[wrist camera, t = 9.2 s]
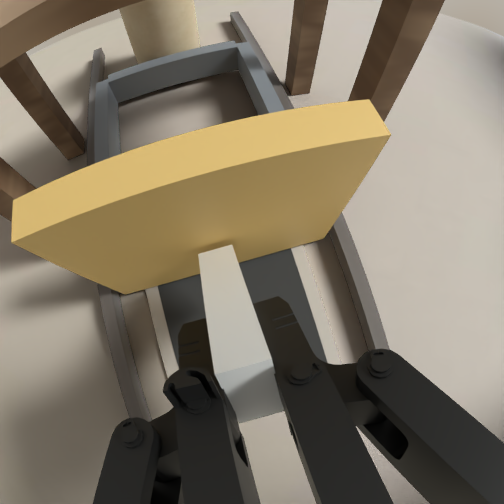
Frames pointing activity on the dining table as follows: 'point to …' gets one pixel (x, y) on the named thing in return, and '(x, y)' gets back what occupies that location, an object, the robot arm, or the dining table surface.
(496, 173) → the dining table surface
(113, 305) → the wooden stand with rails
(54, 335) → the dining table surface
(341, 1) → the dining table surface
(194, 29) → the candle
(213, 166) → the yellow panel grey frame
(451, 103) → the dining table surface
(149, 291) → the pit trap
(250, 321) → the robot arm
